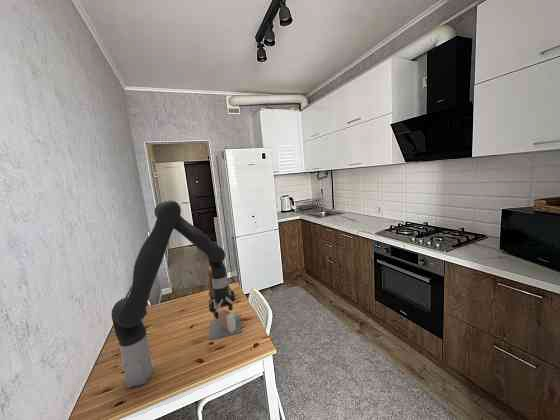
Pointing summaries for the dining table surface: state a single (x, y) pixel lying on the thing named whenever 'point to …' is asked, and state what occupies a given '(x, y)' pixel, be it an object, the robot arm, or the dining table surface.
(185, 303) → the dining table surface
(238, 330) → the mat
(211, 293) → the butternut squash
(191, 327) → the dining table surface
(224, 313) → the block
